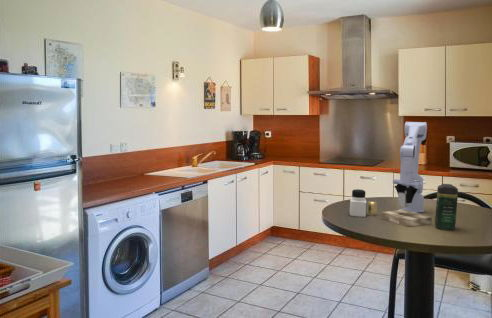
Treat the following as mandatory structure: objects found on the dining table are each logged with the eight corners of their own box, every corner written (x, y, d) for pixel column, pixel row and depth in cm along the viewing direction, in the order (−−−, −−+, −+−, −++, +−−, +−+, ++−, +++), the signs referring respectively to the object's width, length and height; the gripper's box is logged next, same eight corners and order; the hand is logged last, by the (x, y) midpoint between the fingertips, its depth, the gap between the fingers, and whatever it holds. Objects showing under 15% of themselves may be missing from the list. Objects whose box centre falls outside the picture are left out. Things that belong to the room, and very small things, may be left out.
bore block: (403, 215, 208) (403, 209, 207) (431, 223, 193) (431, 217, 193) (381, 218, 201) (381, 212, 201) (408, 226, 187) (408, 219, 187)
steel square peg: (404, 204, 200) (405, 191, 199) (411, 206, 196) (412, 193, 196) (397, 205, 198) (398, 192, 198) (404, 207, 195) (405, 193, 194)
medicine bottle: (366, 217, 204) (367, 191, 202) (350, 216, 205) (351, 190, 204) (365, 213, 211) (366, 188, 209) (349, 212, 212) (350, 188, 211)
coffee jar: (456, 231, 181) (459, 186, 179) (435, 229, 184) (438, 185, 182) (453, 225, 190) (456, 183, 188) (434, 224, 193) (436, 182, 191)
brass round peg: (372, 213, 212) (372, 201, 211) (378, 215, 208) (378, 202, 208) (365, 214, 210) (366, 201, 210) (371, 215, 207) (372, 203, 206)
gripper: (388, 170, 201) (386, 199, 202) (413, 174, 188) (411, 205, 189) (399, 169, 204) (398, 198, 205) (425, 173, 191) (423, 204, 192)
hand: (405, 202), depth 197 cm, fingers closed on steel square peg, 4 cm apart
